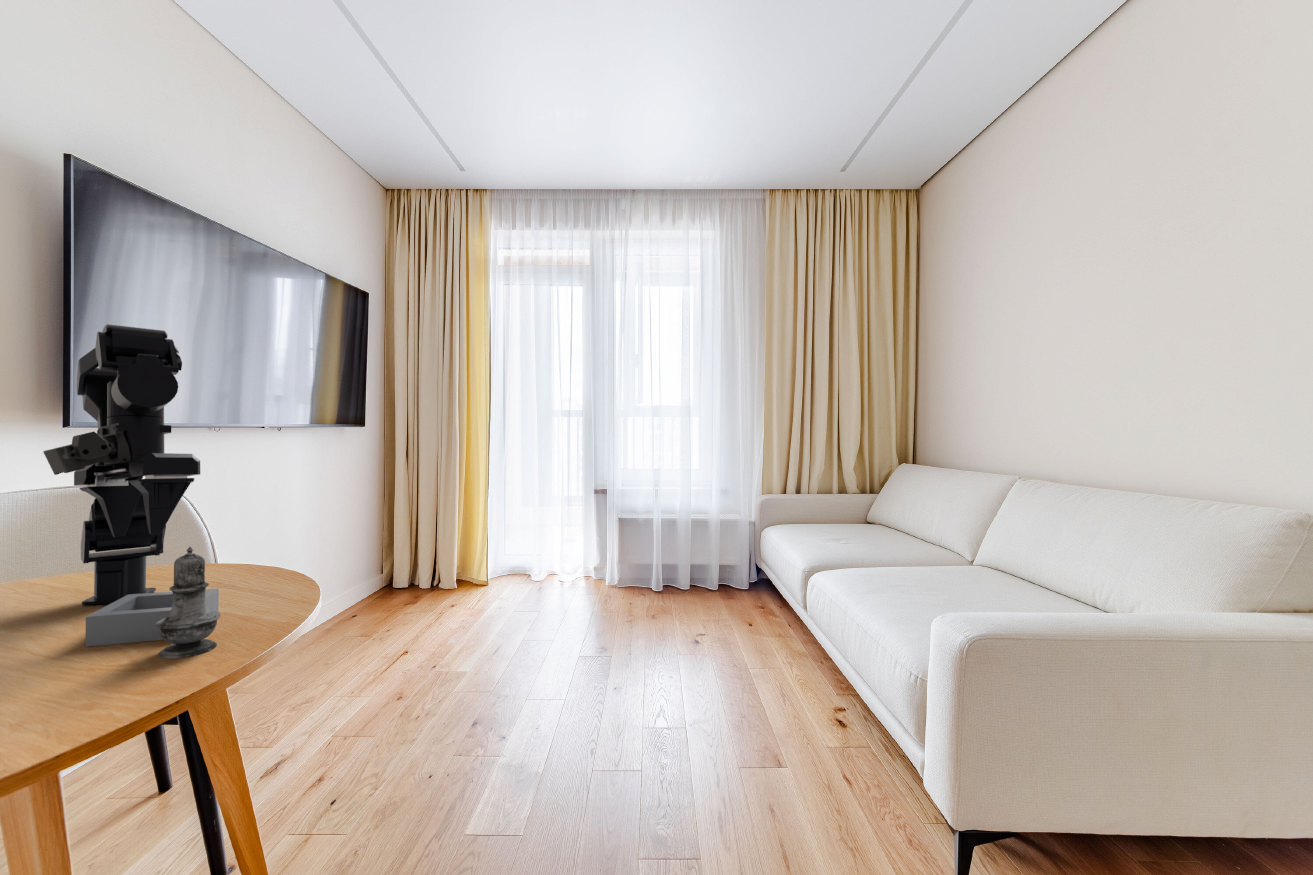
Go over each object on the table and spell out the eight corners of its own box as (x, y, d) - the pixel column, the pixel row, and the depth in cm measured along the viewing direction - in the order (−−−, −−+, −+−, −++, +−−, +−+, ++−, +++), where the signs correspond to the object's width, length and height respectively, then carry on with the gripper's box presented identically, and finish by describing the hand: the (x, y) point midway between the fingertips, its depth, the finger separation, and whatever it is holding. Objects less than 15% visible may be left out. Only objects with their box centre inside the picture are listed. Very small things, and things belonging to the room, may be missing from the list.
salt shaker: (183, 661, 64) (184, 553, 64) (141, 656, 65) (142, 550, 65) (232, 643, 69) (234, 543, 69) (193, 638, 71) (194, 540, 71)
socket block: (127, 620, 77) (128, 594, 77) (218, 613, 80) (218, 588, 80) (85, 646, 67) (85, 616, 67) (189, 637, 71) (190, 608, 71)
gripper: (20, 423, 74) (19, 545, 73) (92, 404, 67) (91, 540, 65) (128, 428, 84) (129, 535, 83) (202, 412, 77) (203, 530, 75)
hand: (136, 535), depth 76 cm, fingers open, 9 cm apart
